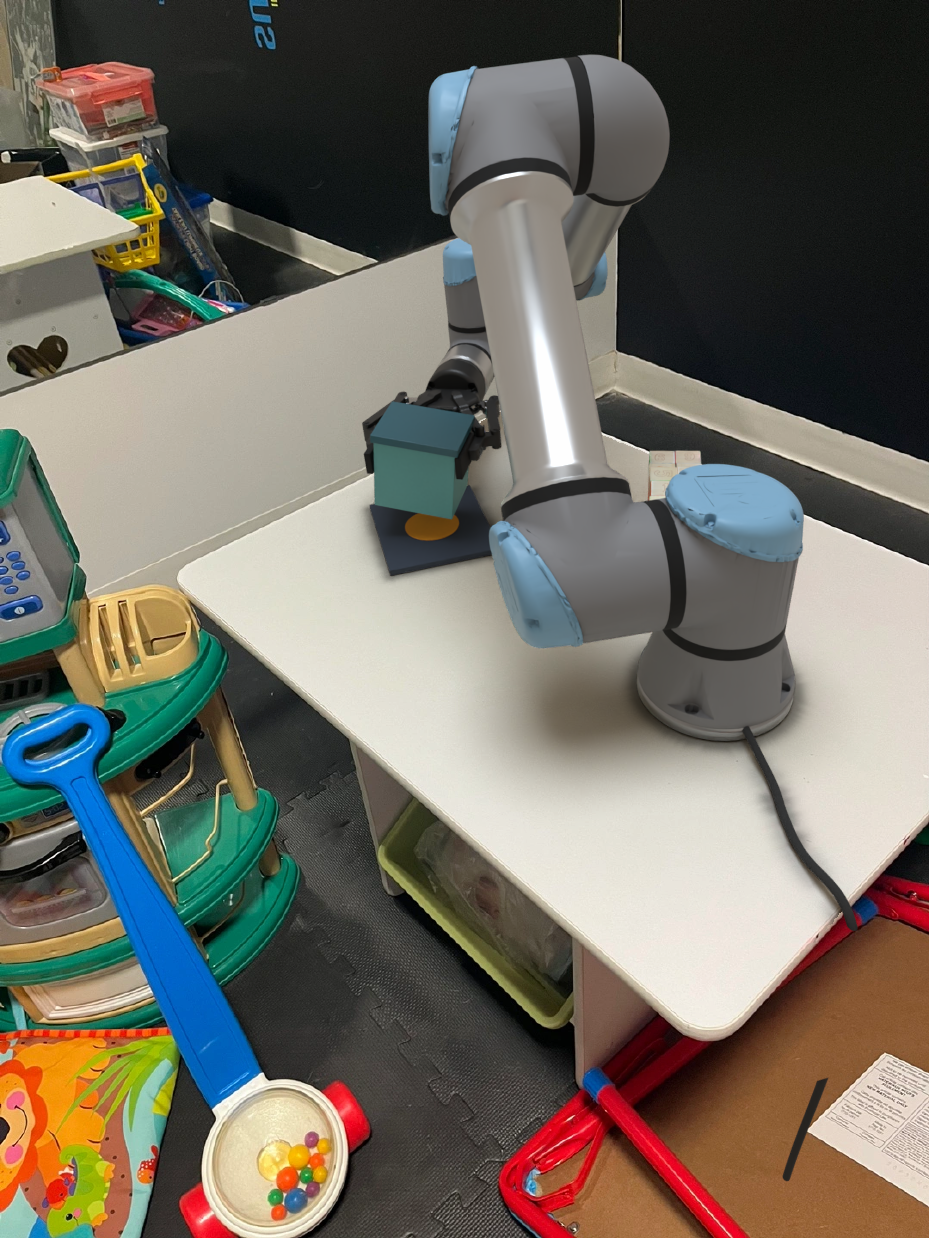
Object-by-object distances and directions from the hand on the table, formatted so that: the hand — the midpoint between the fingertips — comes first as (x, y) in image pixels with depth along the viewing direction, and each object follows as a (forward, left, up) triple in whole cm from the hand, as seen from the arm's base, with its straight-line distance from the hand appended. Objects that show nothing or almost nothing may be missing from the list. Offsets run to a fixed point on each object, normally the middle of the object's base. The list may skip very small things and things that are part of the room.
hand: (412, 466), depth 108 cm
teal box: (+4, -1, -7) cm, 8 cm away
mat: (+4, -2, -12) cm, 12 cm away
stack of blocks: (-14, -27, -12) cm, 33 cm away
